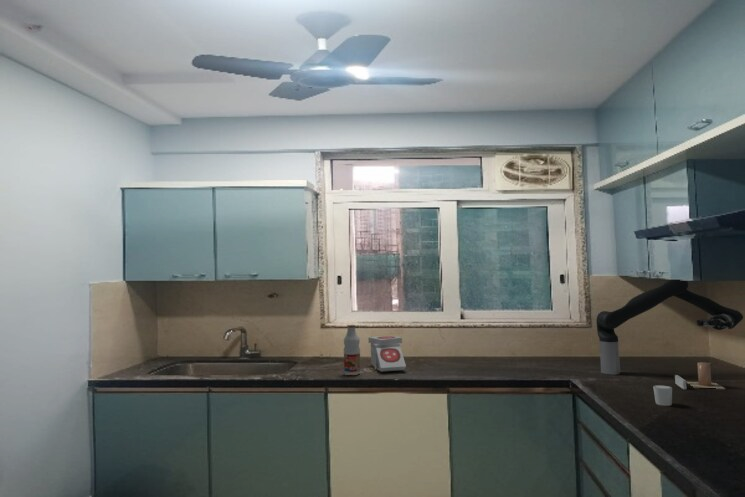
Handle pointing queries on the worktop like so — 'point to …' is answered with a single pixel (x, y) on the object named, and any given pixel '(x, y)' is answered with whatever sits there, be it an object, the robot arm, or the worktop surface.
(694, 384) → the pad
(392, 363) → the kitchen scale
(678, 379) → the wall
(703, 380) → the cylinder
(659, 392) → the shot glass
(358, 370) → the fruit juice
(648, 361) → the worktop surface
